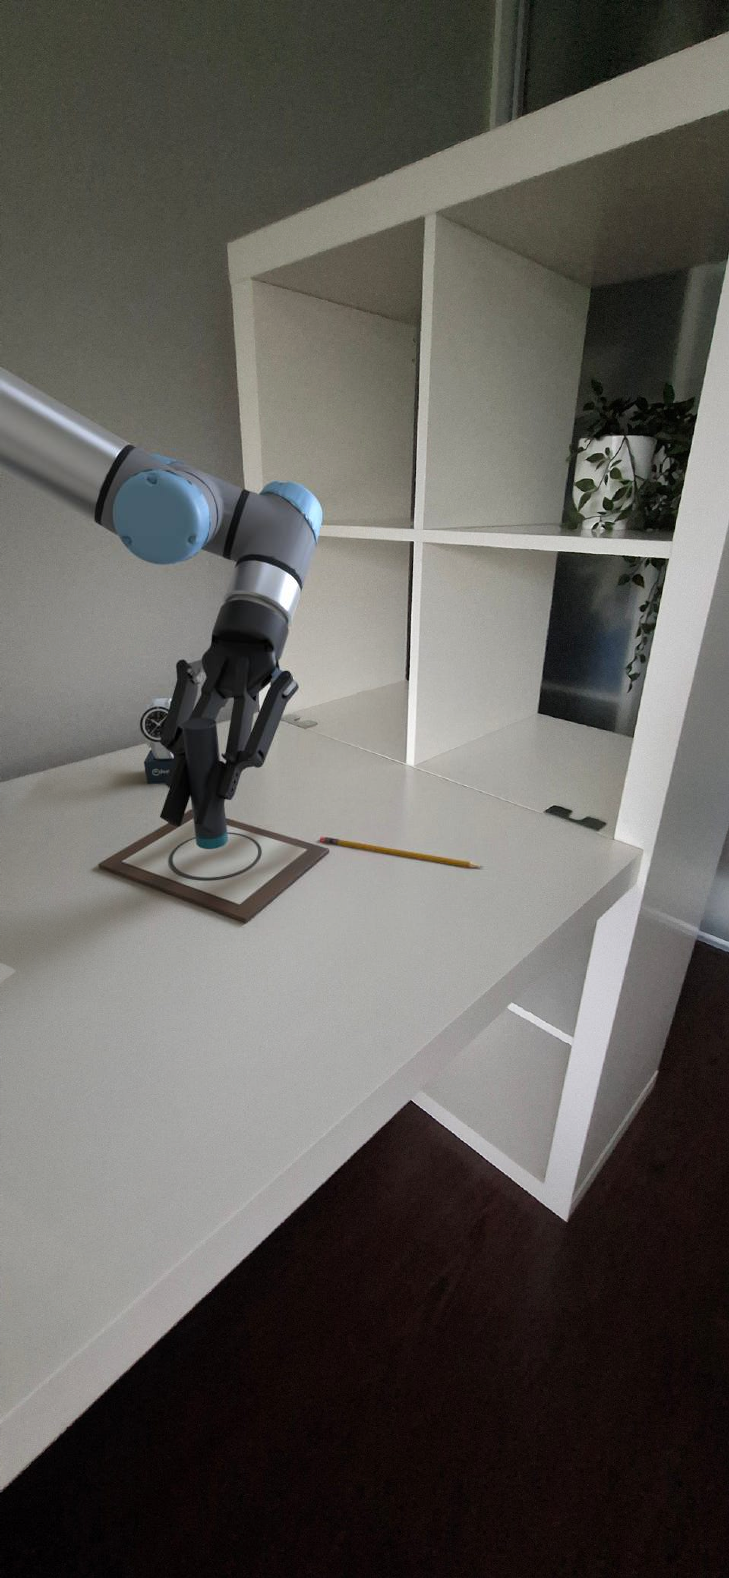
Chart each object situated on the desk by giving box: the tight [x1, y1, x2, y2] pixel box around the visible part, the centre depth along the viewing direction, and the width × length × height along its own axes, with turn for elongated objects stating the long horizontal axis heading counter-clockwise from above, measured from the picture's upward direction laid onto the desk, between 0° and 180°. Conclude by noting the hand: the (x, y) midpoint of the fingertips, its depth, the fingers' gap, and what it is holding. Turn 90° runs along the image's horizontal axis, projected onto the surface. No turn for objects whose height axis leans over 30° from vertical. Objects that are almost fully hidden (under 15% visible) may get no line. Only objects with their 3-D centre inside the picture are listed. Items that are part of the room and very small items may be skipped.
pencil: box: [319, 836, 483, 868], centre depth 77 cm, size 19×1×1 cm, turn 72°
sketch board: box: [97, 808, 330, 924], centre depth 76 cm, size 20×15×1 cm
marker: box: [182, 718, 228, 849], centre depth 68 cm, size 3×3×13 cm
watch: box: [139, 697, 173, 784], centre depth 93 cm, size 6×8×11 cm
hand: (187, 824), depth 66 cm, fingers closed on marker, 3 cm apart
